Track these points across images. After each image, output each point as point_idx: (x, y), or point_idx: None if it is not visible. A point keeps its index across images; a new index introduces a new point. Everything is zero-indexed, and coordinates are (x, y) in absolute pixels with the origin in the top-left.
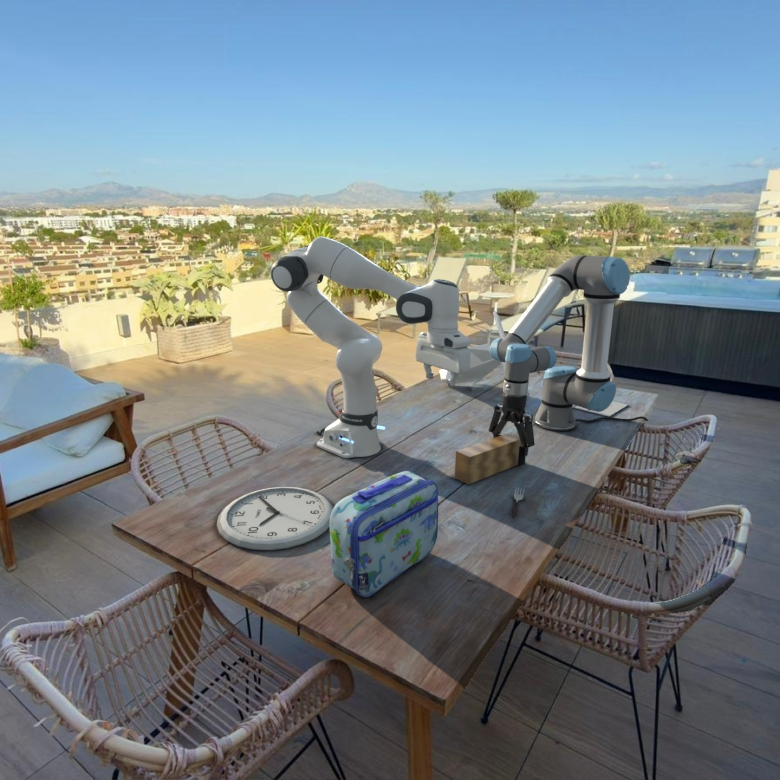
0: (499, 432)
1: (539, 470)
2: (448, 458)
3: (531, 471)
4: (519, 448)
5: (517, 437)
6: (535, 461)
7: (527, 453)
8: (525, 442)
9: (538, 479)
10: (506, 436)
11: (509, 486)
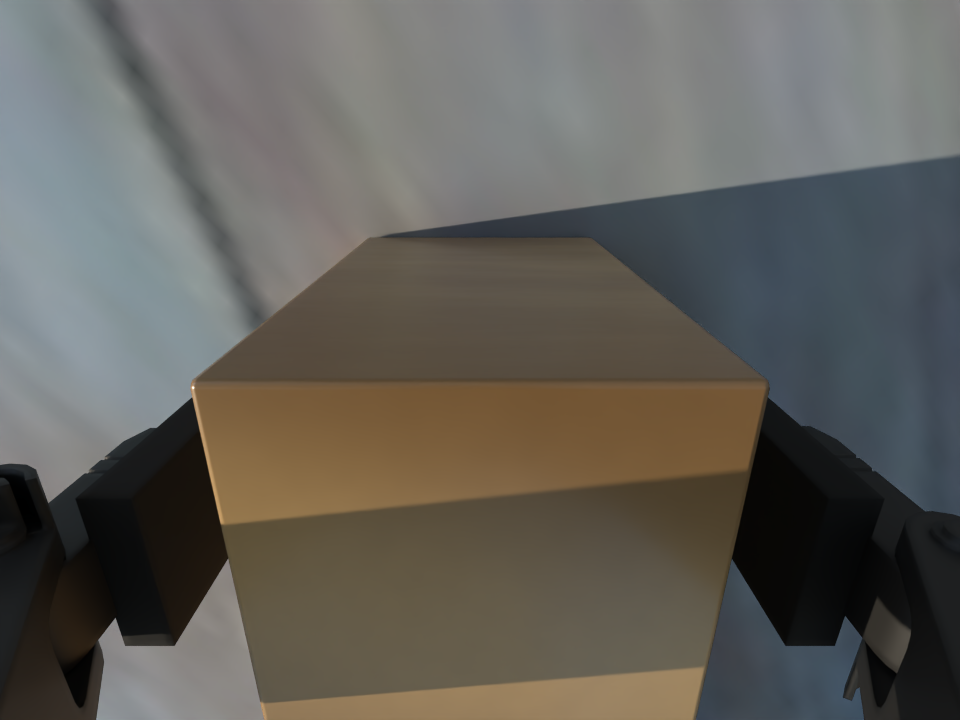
0: (45, 586)
1: (855, 239)
2: (107, 701)
3: (790, 337)
4: (769, 610)
5: (607, 547)
6: (687, 34)
7: (846, 456)
8: (915, 590)
9: (931, 427)
10: (385, 691)
11: (775, 684)
